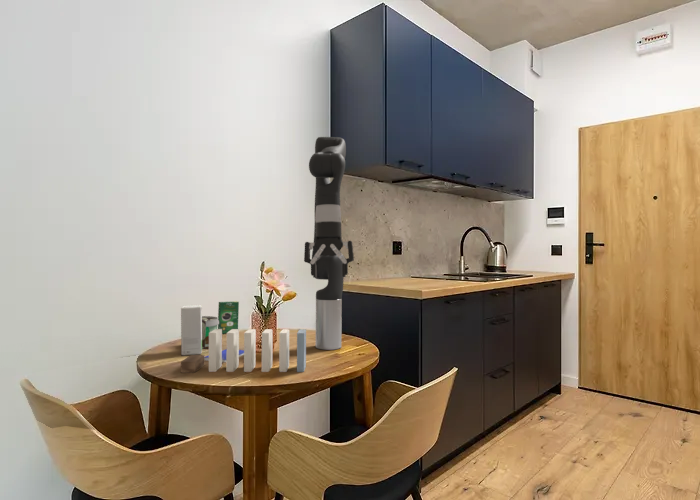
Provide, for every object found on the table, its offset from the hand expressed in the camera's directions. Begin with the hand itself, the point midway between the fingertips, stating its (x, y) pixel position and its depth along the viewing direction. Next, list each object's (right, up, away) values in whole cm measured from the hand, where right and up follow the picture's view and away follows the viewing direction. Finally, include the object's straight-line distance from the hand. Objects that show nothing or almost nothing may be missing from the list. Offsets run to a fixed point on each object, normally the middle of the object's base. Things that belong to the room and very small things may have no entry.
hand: (329, 277), depth 126 cm
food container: (-45, -27, +31) cm, 60 cm away
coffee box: (-45, -27, +54) cm, 75 cm away
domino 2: (-28, -27, 0) cm, 39 cm away
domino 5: (-13, -27, 0) cm, 30 cm away
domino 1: (-33, -27, 0) cm, 42 cm away
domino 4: (-18, -27, 0) cm, 32 cm away
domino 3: (-23, -27, 0) cm, 35 cm away
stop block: (-40, -27, 0) cm, 48 cm away
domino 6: (-8, -27, 0) cm, 28 cm away
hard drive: (-34, -27, +14) cm, 46 cm away
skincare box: (-47, -27, +20) cm, 58 cm away
